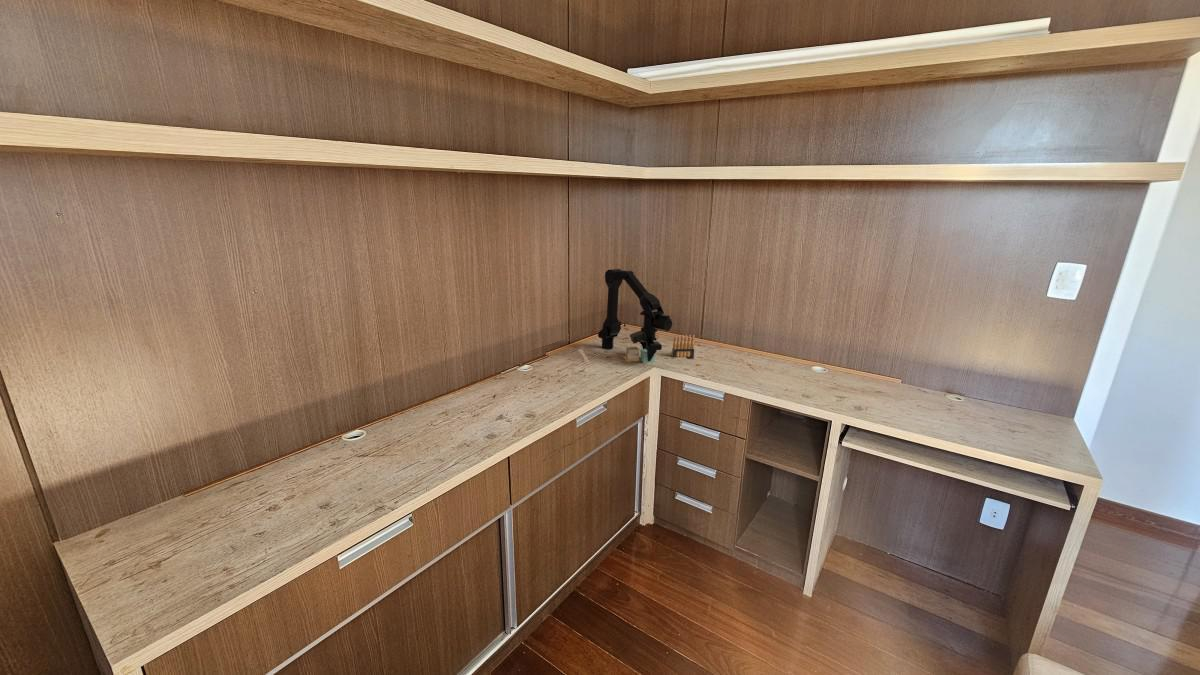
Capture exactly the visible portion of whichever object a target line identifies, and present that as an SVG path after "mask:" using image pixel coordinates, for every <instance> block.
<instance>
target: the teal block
mask: <svg viewBox="0 0 1200 675" xmlns="http://www.w3.org/2000/svg"><path fill="white" fill-rule="evenodd" d="M655 356H656V353H655V354H654V356H653V358H652V359H651V361H648V355H647V350H646V349H643V348H641V349H640V355H639V359H640V360H641V361H640V362H642V363H643V364H652V363H653V364H654V363H655V358H656V357H655Z"/></svg>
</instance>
